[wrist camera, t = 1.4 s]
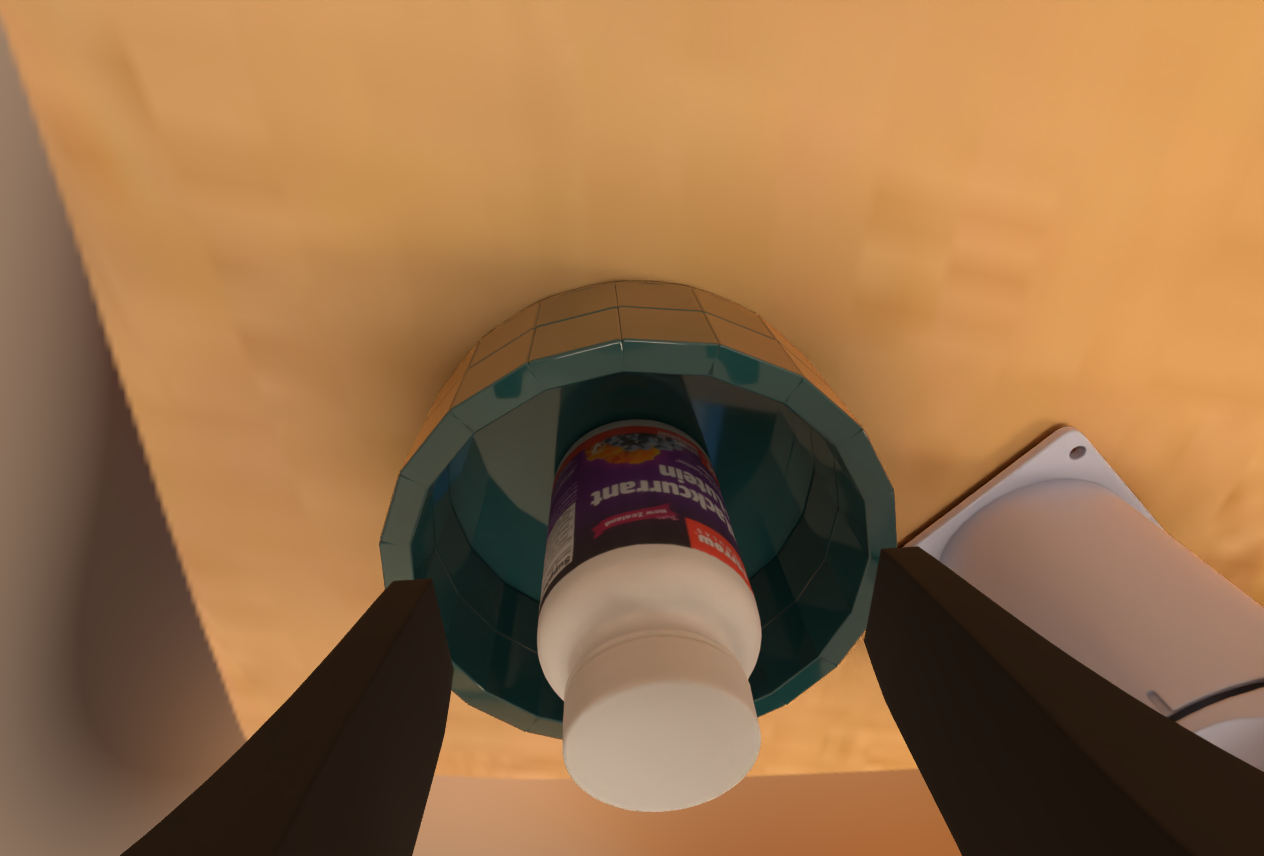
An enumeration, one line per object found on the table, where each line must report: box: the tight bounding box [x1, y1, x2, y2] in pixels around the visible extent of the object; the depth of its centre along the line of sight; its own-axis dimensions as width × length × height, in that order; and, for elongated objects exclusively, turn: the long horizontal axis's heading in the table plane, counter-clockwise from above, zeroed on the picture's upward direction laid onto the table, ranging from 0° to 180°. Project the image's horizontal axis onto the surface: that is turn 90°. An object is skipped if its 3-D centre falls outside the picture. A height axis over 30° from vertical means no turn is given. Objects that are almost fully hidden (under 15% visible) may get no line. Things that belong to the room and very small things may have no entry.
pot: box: [379, 281, 897, 740], centre depth 19 cm, size 14×14×5 cm
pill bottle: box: [537, 419, 762, 812], centre depth 17 cm, size 5×5×10 cm
